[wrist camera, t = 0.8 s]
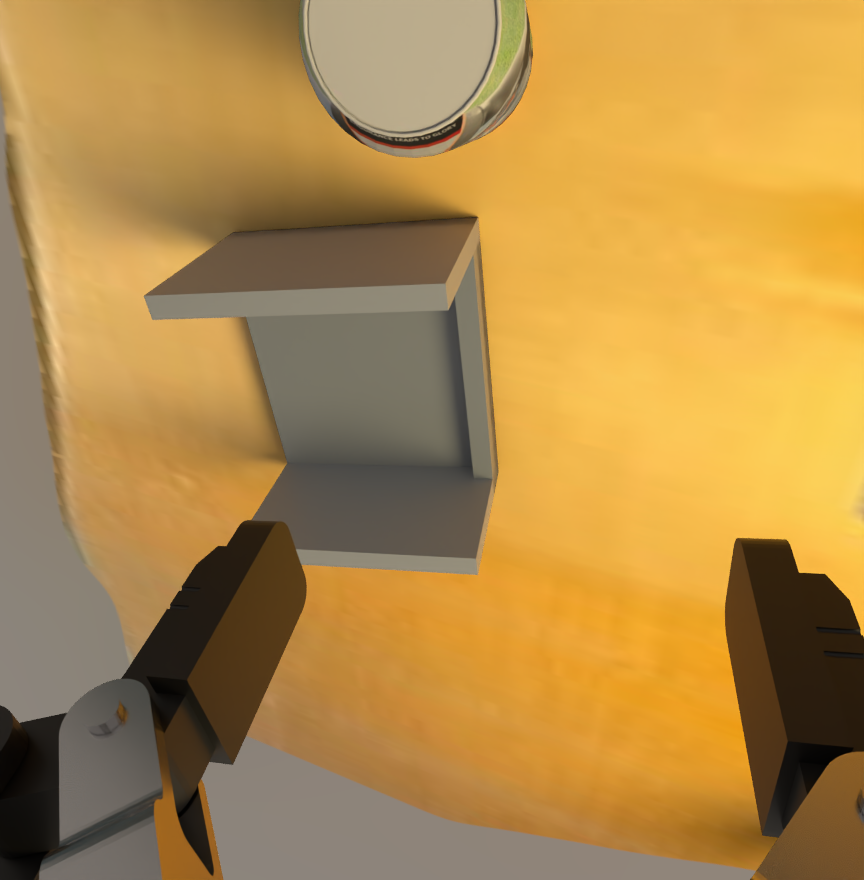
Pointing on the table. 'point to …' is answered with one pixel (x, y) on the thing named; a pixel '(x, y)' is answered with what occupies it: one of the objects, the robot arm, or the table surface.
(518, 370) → the table surface
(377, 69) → the beverage can
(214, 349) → the table surface
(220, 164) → the table surface
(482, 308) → the holder
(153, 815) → the robot arm
